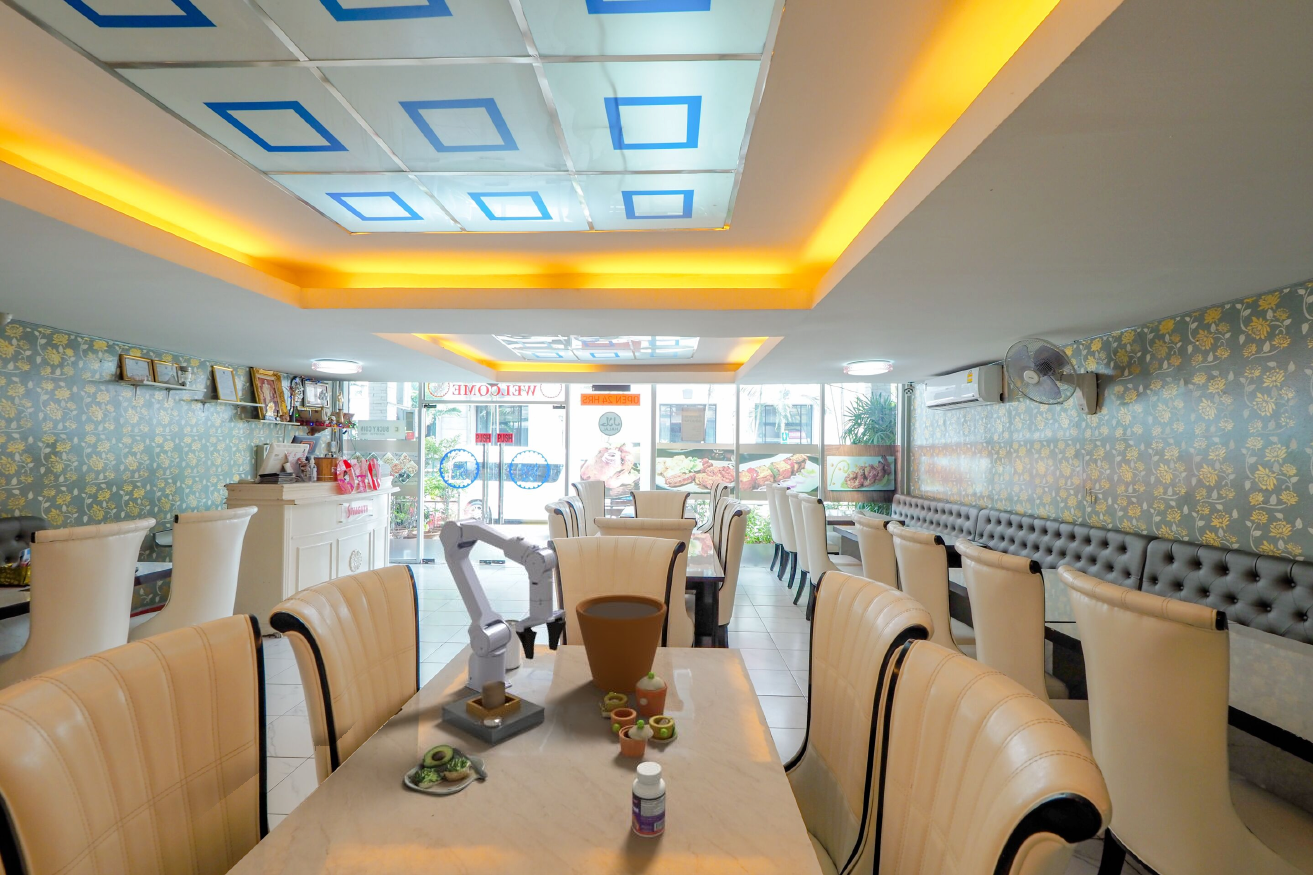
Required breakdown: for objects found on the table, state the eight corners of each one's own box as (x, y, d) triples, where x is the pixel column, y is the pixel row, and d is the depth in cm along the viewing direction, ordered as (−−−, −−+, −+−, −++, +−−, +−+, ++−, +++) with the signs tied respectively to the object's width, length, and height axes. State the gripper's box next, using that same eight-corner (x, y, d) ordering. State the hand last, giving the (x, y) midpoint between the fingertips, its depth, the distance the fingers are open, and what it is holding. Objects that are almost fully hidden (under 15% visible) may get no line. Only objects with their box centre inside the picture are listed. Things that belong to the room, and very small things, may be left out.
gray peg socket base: (442, 720, 129) (442, 699, 129) (494, 699, 140) (494, 680, 141) (491, 746, 118) (492, 724, 118) (544, 721, 129) (544, 700, 130)
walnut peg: (476, 721, 129) (477, 685, 129) (495, 713, 133) (496, 678, 133) (490, 728, 126) (491, 691, 126) (509, 720, 130) (509, 684, 130)
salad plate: (506, 766, 112) (506, 747, 112) (460, 806, 99) (461, 785, 99) (443, 752, 117) (444, 734, 117) (392, 789, 104) (393, 769, 104)
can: (523, 661, 165) (524, 619, 165) (516, 670, 159) (516, 626, 159) (501, 660, 166) (502, 618, 166) (493, 669, 159) (494, 625, 160)
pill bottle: (631, 818, 96) (631, 759, 96) (663, 817, 96) (664, 758, 96) (632, 840, 90) (633, 778, 91) (666, 839, 91) (667, 776, 91)
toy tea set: (597, 707, 137) (597, 666, 137) (660, 701, 141) (660, 661, 141) (615, 766, 112) (616, 716, 112) (692, 757, 116) (692, 708, 116)
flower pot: (556, 680, 152) (558, 604, 153) (626, 659, 168) (627, 590, 169) (612, 711, 135) (613, 625, 135) (684, 684, 151) (685, 607, 151)
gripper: (528, 607, 135) (529, 666, 134) (573, 594, 146) (574, 648, 146) (509, 602, 139) (509, 659, 139) (554, 590, 150) (555, 643, 150)
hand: (541, 653), depth 142 cm, fingers open, 7 cm apart
